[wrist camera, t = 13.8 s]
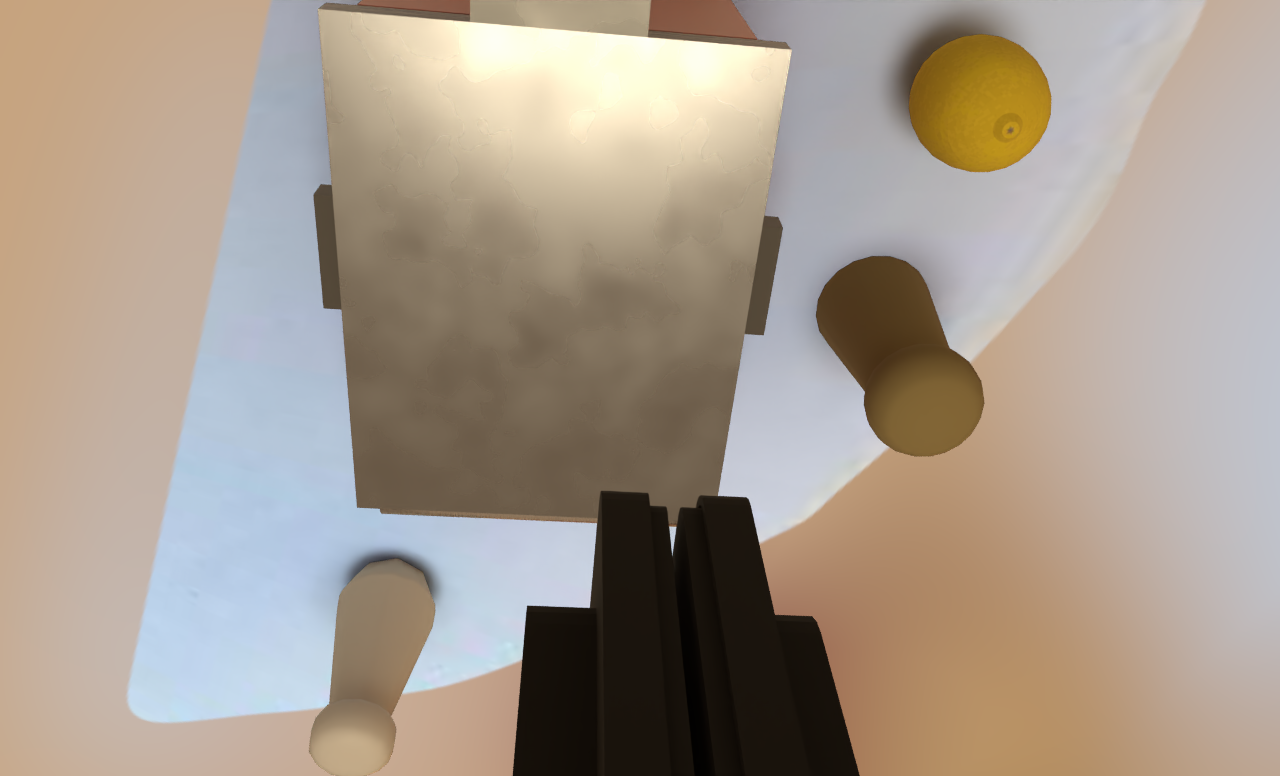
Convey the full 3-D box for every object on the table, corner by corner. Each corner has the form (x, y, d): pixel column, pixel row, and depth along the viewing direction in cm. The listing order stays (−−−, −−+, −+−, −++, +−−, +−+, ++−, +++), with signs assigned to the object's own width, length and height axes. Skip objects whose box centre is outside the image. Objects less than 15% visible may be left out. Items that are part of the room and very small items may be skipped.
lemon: (949, -8, 43) (1016, 29, 36) (1032, 67, 45) (1110, 114, 38) (865, 94, 45) (912, 146, 38) (947, 161, 47) (1006, 222, 40)
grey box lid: (320, -78, 32) (311, -74, 31) (798, -34, 33) (804, -29, 32) (363, 501, 44) (357, 518, 43) (708, 517, 45) (711, 533, 44)
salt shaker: (459, 589, 60) (429, 766, 49) (393, 630, 62) (349, 810, 51) (393, 532, 58) (346, 706, 47) (326, 577, 59) (264, 755, 48)
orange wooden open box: (348, -43, 41) (286, -2, 33) (778, -4, 43) (823, 44, 34) (373, 360, 52) (330, 469, 43) (718, 380, 53) (742, 488, 45)
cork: (885, 373, 53) (947, 496, 44) (794, 330, 52) (838, 447, 42) (952, 285, 51) (1033, 395, 41) (858, 236, 49) (921, 340, 40)
